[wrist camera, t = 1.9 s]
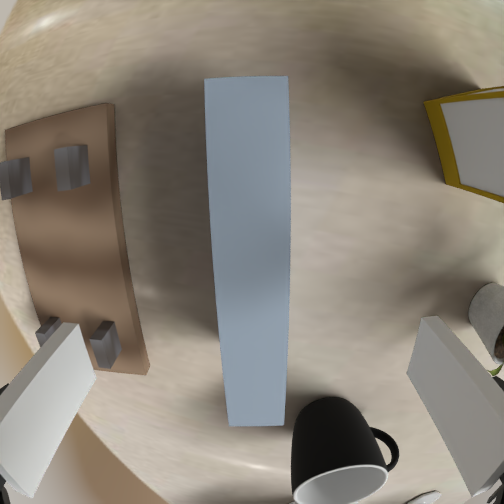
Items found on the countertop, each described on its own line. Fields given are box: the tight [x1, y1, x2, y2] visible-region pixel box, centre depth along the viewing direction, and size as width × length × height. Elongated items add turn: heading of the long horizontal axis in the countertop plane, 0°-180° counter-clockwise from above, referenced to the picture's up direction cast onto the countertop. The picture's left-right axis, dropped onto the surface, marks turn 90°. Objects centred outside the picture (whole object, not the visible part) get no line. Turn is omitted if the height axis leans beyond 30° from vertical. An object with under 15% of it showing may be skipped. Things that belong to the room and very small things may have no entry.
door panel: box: [204, 76, 291, 426], centre depth 20 cm, size 20×4×10 cm, turn 1°
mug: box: [291, 397, 399, 504], centre depth 27 cm, size 12×9×10 cm
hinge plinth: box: [0, 103, 150, 375], centre depth 23 cm, size 24×11×4 cm, turn 1°
